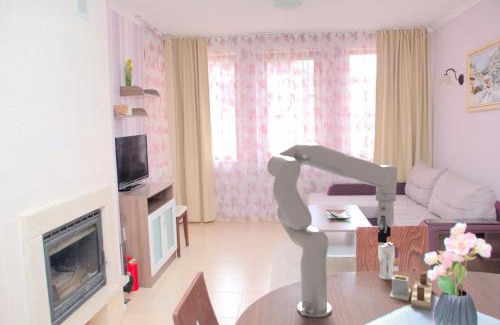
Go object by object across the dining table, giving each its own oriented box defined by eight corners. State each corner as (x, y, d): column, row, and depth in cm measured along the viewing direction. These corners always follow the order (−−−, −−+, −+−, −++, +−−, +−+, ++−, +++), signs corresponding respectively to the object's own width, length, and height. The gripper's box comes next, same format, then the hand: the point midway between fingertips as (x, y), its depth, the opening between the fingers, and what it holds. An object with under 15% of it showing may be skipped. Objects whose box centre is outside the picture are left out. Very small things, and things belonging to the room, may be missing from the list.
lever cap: (407, 295, 152) (407, 279, 152) (391, 293, 155) (391, 277, 154) (408, 291, 156) (408, 275, 155) (393, 289, 159) (393, 273, 158)
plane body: (429, 310, 142) (430, 289, 141) (411, 306, 145) (411, 286, 144) (432, 290, 158) (432, 271, 157) (414, 287, 161) (415, 269, 160)
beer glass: (378, 279, 170) (378, 246, 169) (377, 273, 177) (377, 241, 175) (395, 281, 168) (395, 247, 167) (394, 274, 175) (394, 242, 173)
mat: (408, 300, 150) (408, 299, 150) (389, 297, 153) (389, 296, 153) (410, 290, 159) (410, 288, 158) (392, 287, 162) (392, 286, 162)
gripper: (392, 201, 142) (390, 246, 144) (398, 194, 157) (397, 235, 159) (371, 199, 146) (370, 243, 147) (379, 192, 161) (378, 232, 162)
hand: (384, 239), depth 153 cm, fingers open, 9 cm apart
